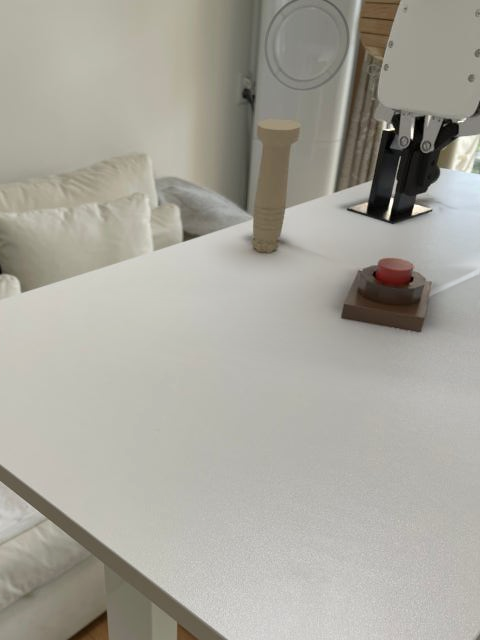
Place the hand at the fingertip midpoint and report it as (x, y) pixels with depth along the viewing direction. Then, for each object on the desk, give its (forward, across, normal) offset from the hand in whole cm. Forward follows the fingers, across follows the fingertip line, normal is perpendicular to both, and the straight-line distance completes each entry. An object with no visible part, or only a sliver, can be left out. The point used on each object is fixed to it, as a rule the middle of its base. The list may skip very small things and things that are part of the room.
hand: (411, 192), depth 63 cm
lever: (+6, +19, -31) cm, 37 cm away
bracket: (+12, +19, -28) cm, 36 cm away
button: (+9, 0, 0) cm, 9 cm away
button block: (+12, 0, 0) cm, 12 cm away
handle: (+12, +20, -3) cm, 24 cm away
